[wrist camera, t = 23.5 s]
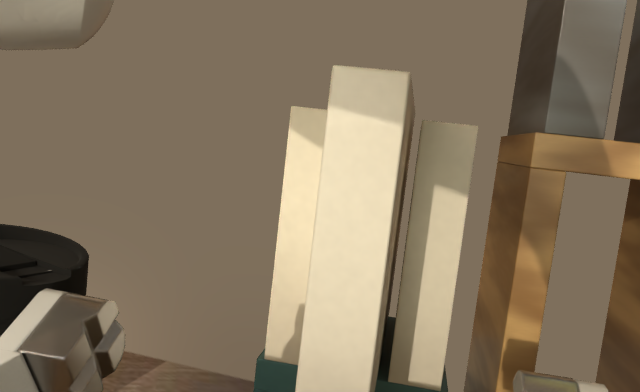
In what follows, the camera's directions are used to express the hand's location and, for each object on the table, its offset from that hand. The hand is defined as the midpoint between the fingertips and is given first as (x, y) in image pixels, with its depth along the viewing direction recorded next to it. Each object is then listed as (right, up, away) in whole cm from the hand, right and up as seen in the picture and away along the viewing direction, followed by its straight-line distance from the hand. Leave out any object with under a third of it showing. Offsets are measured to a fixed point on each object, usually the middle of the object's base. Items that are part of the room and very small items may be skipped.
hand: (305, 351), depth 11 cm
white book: (+2, -5, +16) cm, 17 cm away
